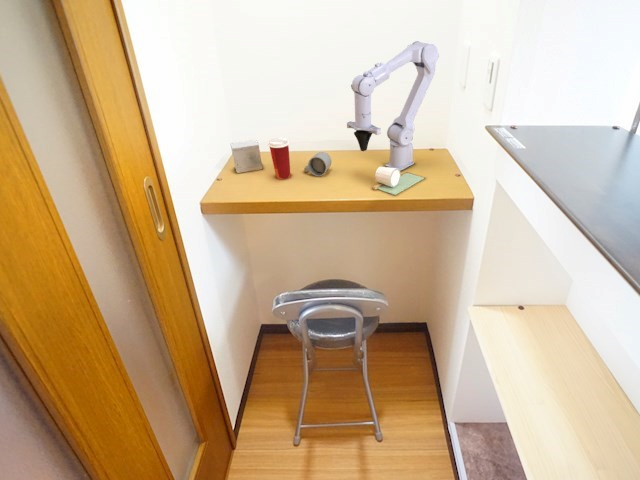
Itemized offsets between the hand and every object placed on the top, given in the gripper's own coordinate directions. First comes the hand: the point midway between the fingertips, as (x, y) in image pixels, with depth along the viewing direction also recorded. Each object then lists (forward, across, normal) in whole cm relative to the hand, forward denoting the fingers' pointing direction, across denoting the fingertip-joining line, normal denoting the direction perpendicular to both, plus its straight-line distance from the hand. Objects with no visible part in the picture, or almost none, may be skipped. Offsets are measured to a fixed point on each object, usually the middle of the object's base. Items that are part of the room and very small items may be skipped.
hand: (363, 150), depth 149 cm
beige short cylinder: (+6, +10, -3) cm, 12 cm away
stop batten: (+9, +12, -3) cm, 16 cm away
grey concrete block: (+9, -41, -25) cm, 49 cm away
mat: (+9, +17, +1) cm, 19 cm away
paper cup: (+9, -24, -21) cm, 33 cm away
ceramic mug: (+10, -15, -10) cm, 21 cm away
